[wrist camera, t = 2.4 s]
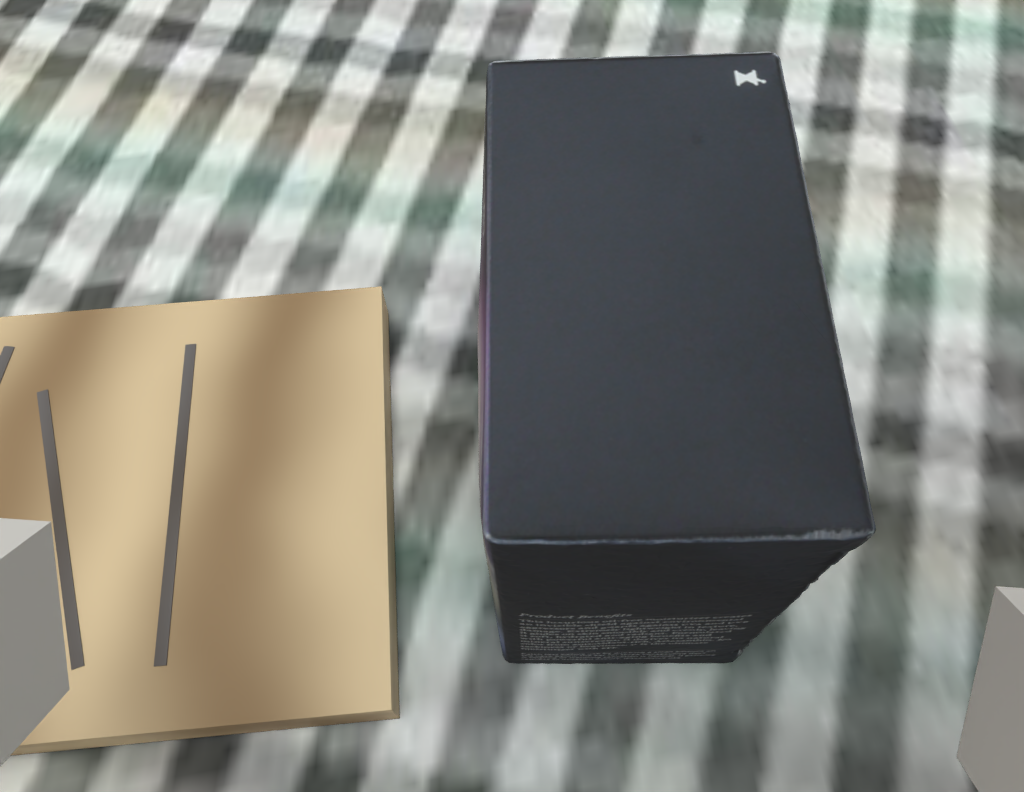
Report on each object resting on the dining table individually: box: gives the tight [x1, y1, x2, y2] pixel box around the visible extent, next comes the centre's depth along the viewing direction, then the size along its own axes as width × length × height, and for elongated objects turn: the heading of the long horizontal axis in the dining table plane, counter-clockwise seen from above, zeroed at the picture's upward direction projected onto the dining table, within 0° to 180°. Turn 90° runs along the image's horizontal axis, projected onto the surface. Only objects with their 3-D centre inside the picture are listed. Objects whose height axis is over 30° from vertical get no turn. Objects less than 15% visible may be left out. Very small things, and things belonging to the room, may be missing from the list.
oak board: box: [0, 287, 400, 755], centre depth 23 cm, size 19×12×2 cm, turn 95°
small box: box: [478, 52, 876, 664], centre depth 20 cm, size 11×6×10 cm, turn 0°
